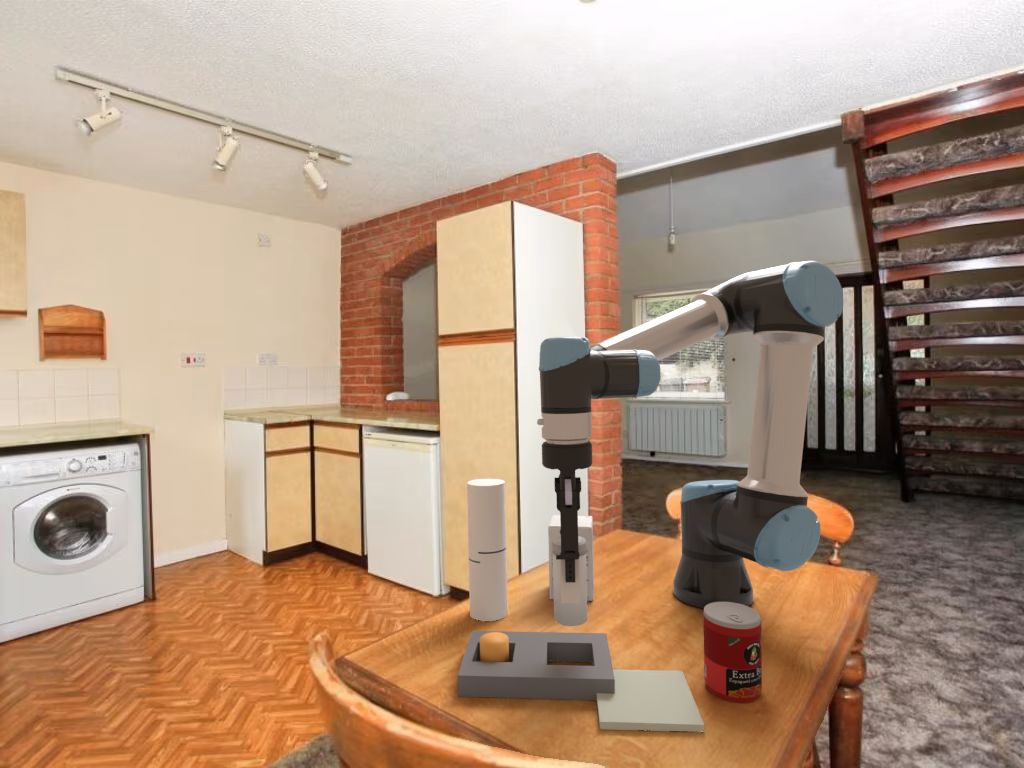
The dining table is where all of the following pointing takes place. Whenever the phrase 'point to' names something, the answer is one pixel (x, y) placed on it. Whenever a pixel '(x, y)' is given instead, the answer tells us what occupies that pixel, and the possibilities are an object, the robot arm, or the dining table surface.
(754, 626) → the canned food
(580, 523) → the supplement box
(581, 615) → the cartridge
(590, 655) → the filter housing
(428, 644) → the dining table surface
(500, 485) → the cylindrical container
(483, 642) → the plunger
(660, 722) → the mat
